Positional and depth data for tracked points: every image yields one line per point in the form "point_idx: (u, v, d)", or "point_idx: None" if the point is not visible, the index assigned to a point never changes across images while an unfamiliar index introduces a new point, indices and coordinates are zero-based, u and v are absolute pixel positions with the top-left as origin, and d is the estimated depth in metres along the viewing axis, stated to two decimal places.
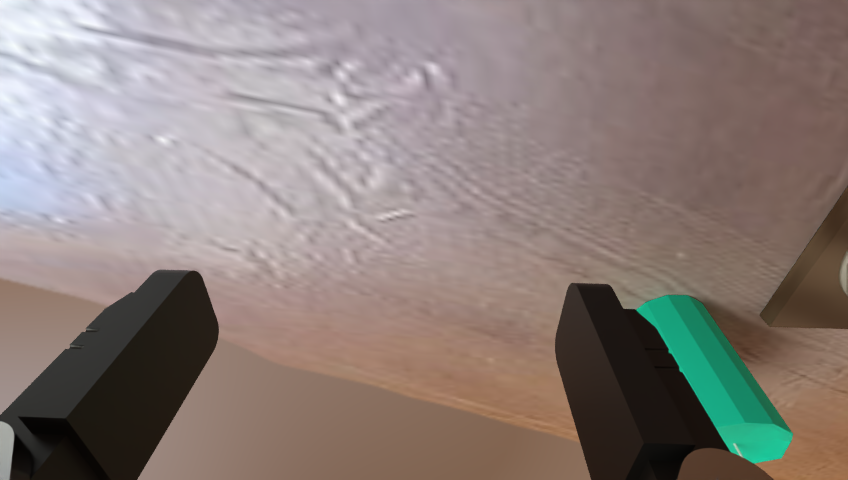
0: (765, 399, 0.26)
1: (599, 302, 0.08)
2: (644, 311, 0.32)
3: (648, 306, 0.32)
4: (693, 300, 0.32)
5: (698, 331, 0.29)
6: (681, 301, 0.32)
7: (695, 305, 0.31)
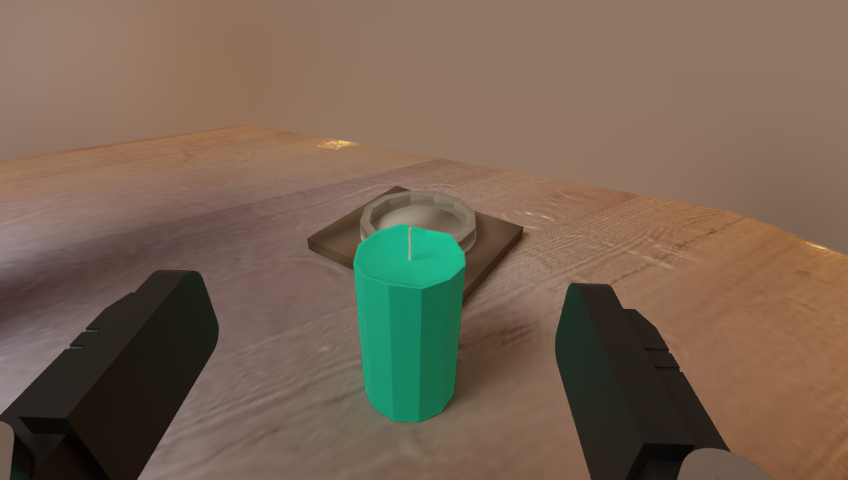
0: None
1: (599, 302, 0.08)
2: (366, 388, 0.27)
3: (364, 384, 0.27)
4: None
5: None
6: None
7: None
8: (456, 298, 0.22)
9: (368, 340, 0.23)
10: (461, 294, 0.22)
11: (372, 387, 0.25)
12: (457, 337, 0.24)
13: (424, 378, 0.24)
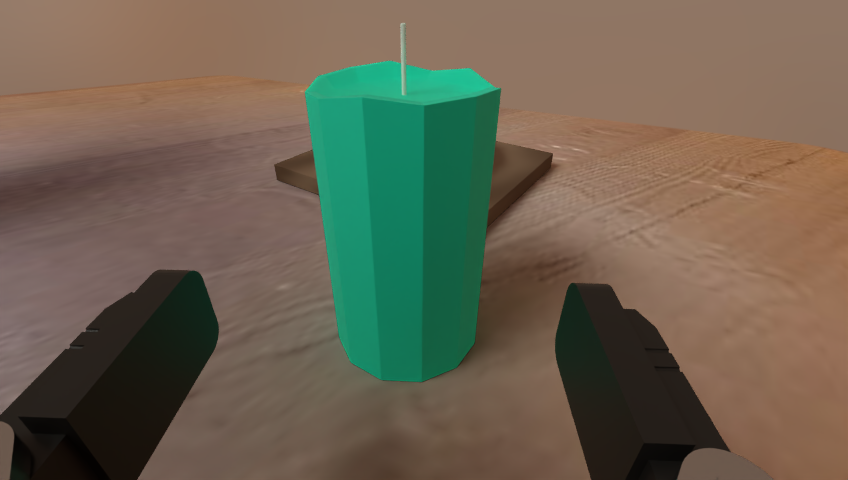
0: None
1: (599, 302, 0.08)
2: (340, 333, 0.17)
3: (338, 329, 0.18)
4: None
5: None
6: None
7: None
8: (485, 153, 0.13)
9: (336, 235, 0.14)
10: (492, 151, 0.13)
11: (347, 325, 0.16)
12: (483, 238, 0.15)
13: (430, 302, 0.14)
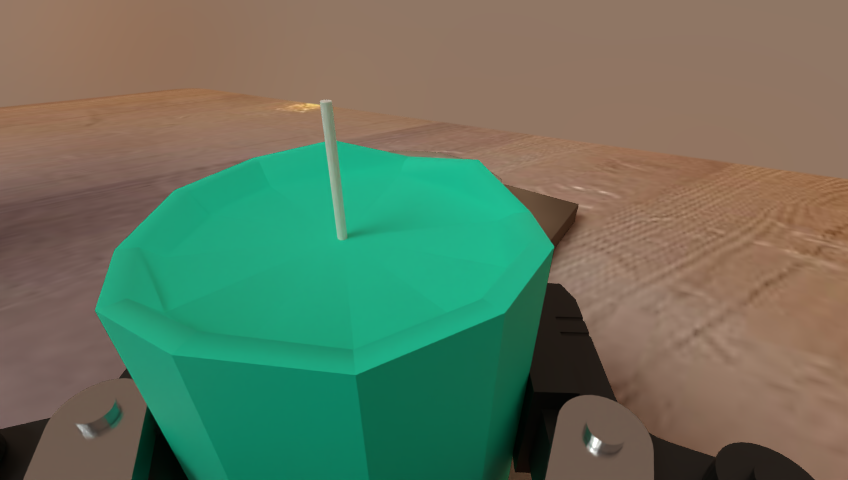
0: None
1: None
2: None
3: None
4: None
5: None
6: None
7: None
8: (516, 377, 0.06)
9: None
10: (529, 358, 0.06)
11: None
12: (505, 478, 0.08)
13: None
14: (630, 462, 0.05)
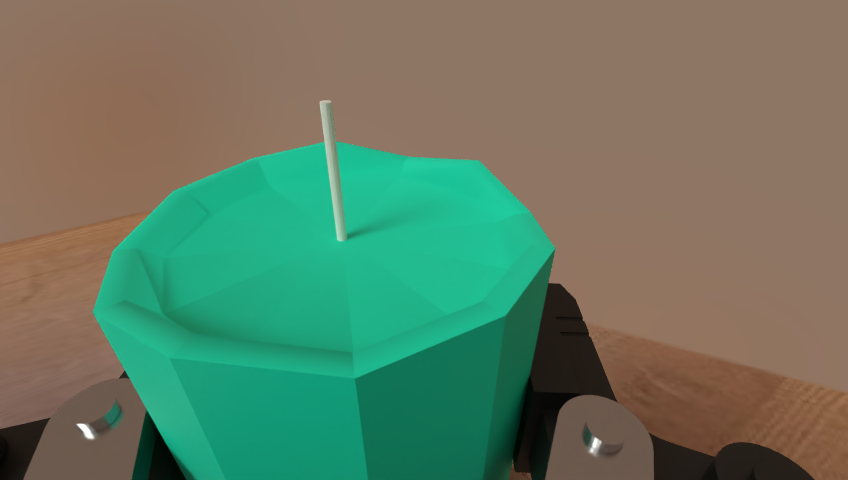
0: None
1: None
2: None
3: None
4: None
5: None
6: None
7: None
8: (516, 380, 0.06)
9: None
10: (530, 360, 0.06)
11: None
12: (506, 479, 0.08)
13: None
14: (630, 462, 0.05)
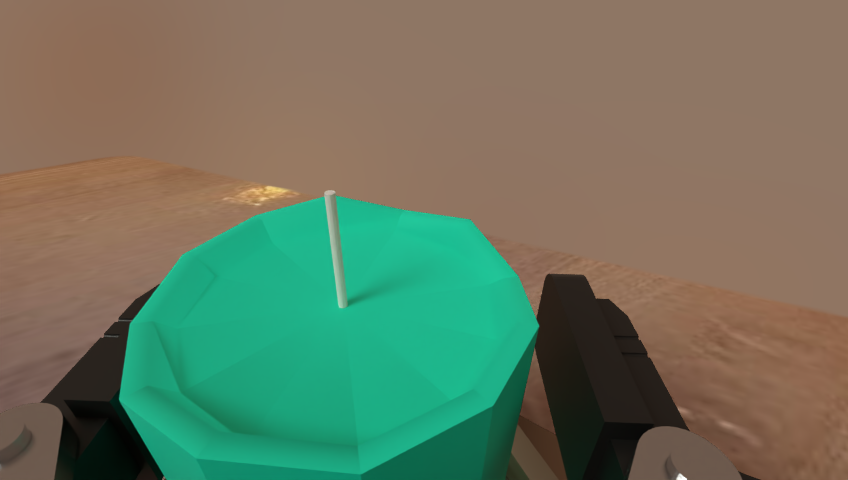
0: None
1: (573, 291, 0.08)
2: None
3: None
4: None
5: None
6: None
7: None
8: (504, 440, 0.06)
9: None
10: (516, 418, 0.07)
11: None
12: None
13: None
14: None
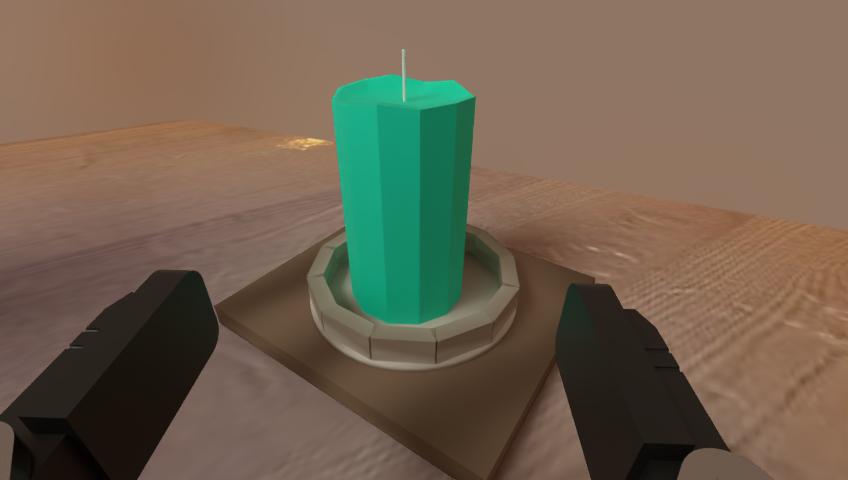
0: None
1: (599, 302, 0.08)
2: (354, 290, 0.22)
3: (352, 287, 0.22)
4: None
5: None
6: None
7: None
8: (465, 144, 0.17)
9: (354, 207, 0.18)
10: (470, 142, 0.18)
11: (360, 280, 0.20)
12: (465, 210, 0.19)
13: (425, 258, 0.19)
14: None
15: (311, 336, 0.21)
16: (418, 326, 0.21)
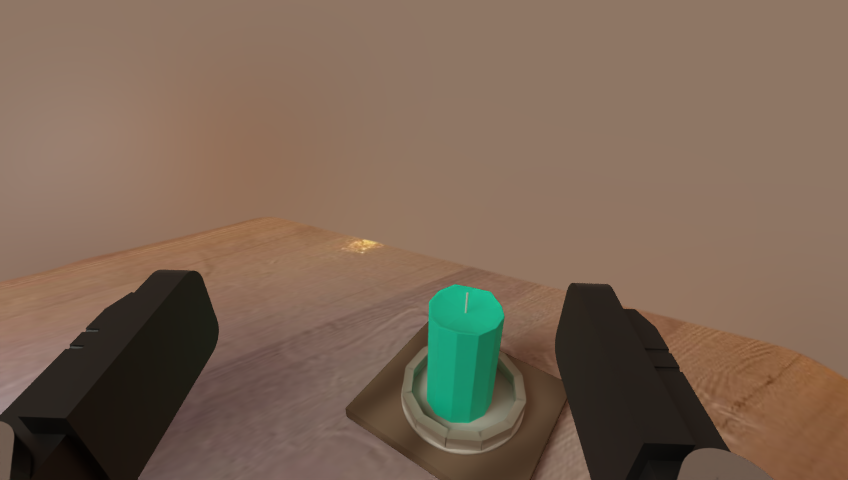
0: None
1: (599, 302, 0.08)
2: (429, 399, 0.37)
3: (427, 397, 0.38)
4: None
5: None
6: None
7: None
8: (498, 338, 0.33)
9: (437, 367, 0.34)
10: (501, 335, 0.33)
11: (436, 399, 0.36)
12: (496, 363, 0.35)
13: (475, 392, 0.34)
14: None
15: (407, 430, 0.36)
16: (468, 424, 0.36)
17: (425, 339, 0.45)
